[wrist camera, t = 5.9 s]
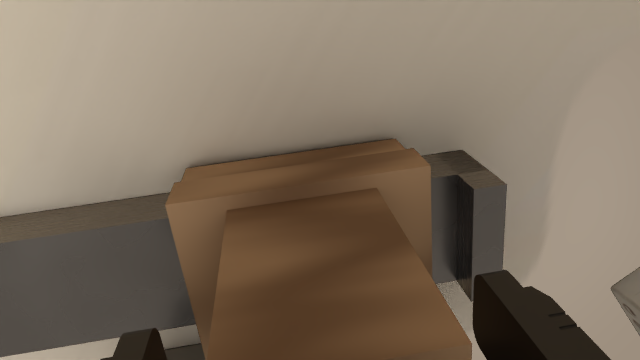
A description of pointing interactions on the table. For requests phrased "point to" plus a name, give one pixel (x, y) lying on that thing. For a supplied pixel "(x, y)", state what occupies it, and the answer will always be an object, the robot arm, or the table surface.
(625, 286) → the skincare box
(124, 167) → the table surface
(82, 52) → the table surface
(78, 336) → the rail
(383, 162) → the stepped wooden block
